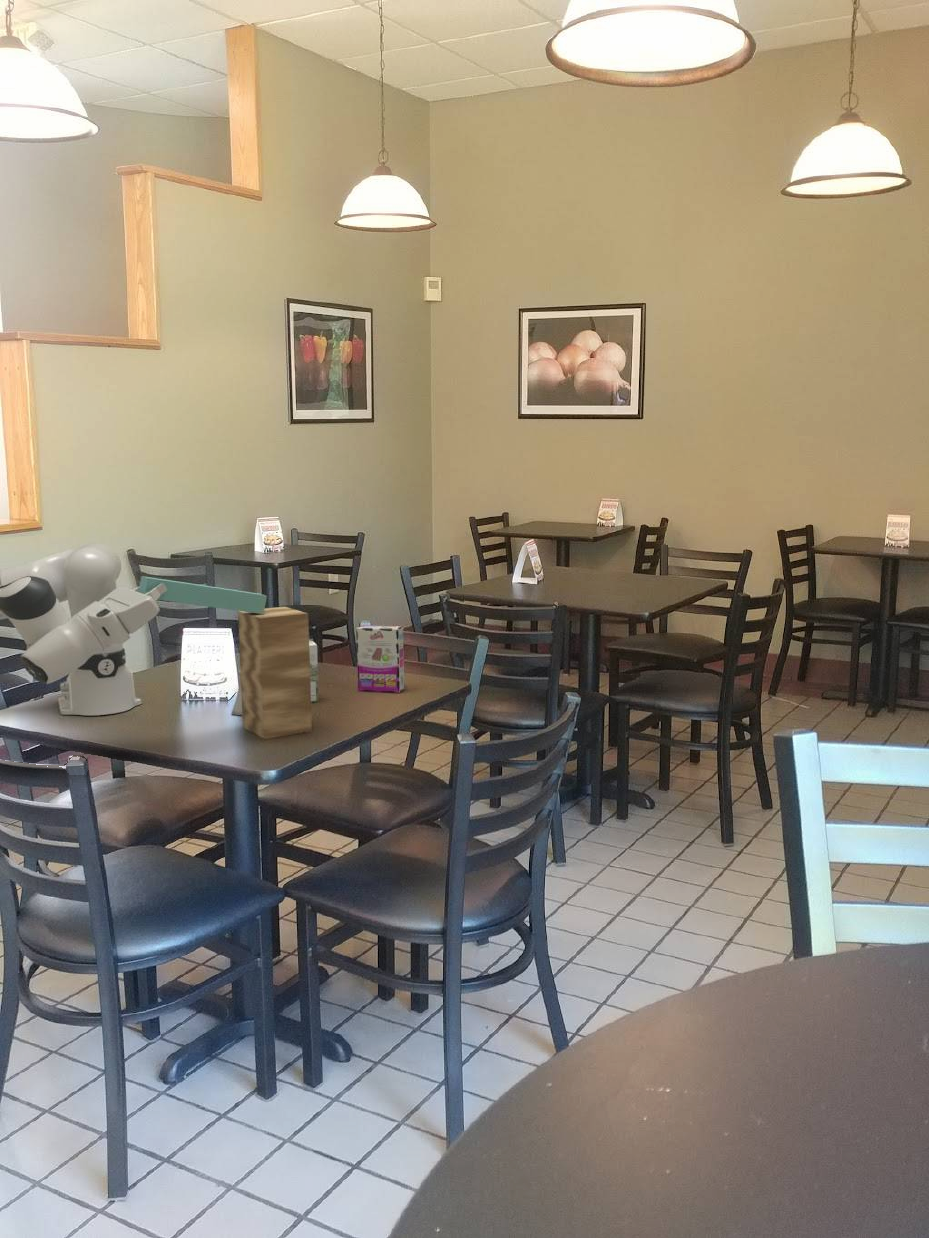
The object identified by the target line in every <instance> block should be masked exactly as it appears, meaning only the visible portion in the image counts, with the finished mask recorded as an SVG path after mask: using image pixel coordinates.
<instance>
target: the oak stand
mask: <svg viewBox="0 0 929 1238" xmlns="http://www.w3.org/2000/svg"><path fill="white" fill-rule="evenodd" d="M237 615H238V640H239V643H238V644H239V663H240V664H239V666H240V668H239V670H240V669H241V694H242V715H241V716H242V718H241V719H242V728H244V729H245V730H247V731H248V732H251V733H253V734H255V735H256V736H258V737H260V738H262V739H265V740H267V739H274V738H279V737H287V736H292V735H298V733H299V734H304V733H303V732H305V733H311V732H313V729H312V728H313V725H312V702H311V687H310V653H309V641H310V630H309V629H310V627H309V624H310V623H309V613H308V612H304V611H301V610H298V609H294V608H290V607H287V606H278V607H277V606H276V607H265V610H264V614H258V613H251V612H244V611H238V612H237Z"/></svg>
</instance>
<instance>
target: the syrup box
mask: <svg viewBox="0 0 929 1238" xmlns="http://www.w3.org/2000/svg"><path fill="white" fill-rule="evenodd" d="M309 653H310V687H311V703H315V702H319V679H318V678H319V673H318V667H319V665H318V645H317V643H316V642H314V640H313V641H312V640H309Z"/></svg>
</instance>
